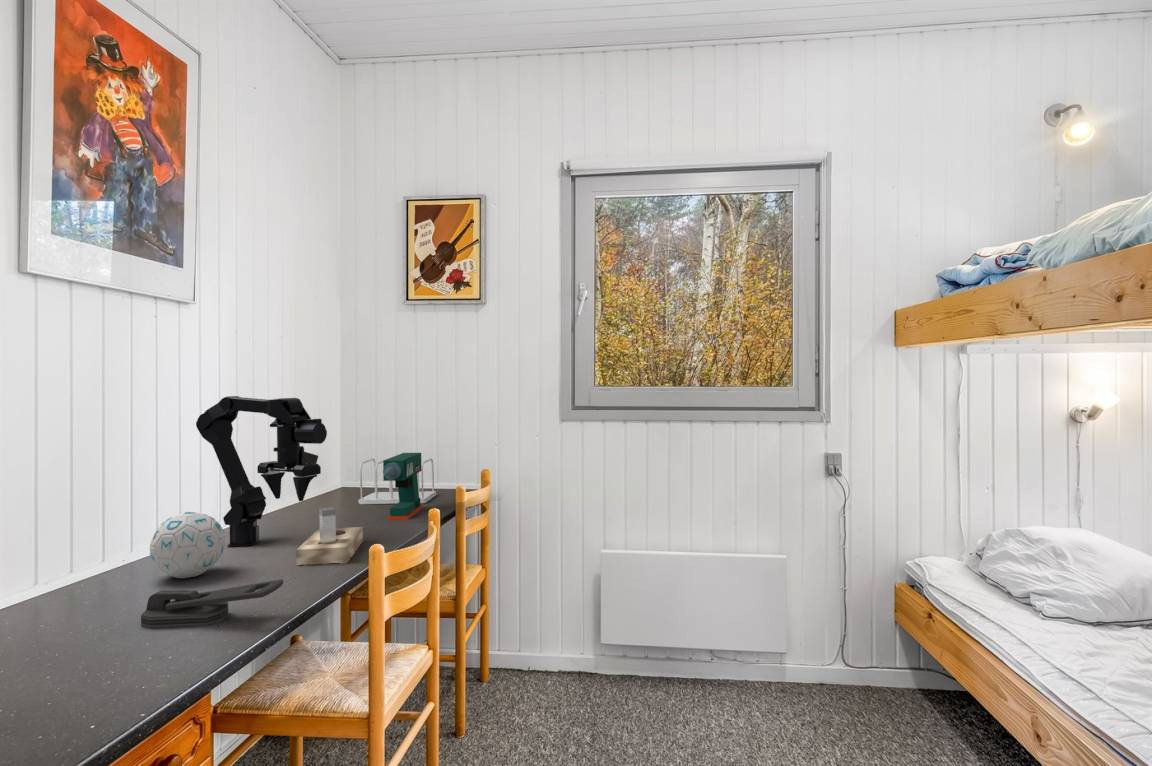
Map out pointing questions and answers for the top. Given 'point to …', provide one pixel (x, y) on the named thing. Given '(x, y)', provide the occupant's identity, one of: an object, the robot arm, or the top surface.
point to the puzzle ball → (187, 544)
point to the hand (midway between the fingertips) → (289, 499)
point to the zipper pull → (198, 605)
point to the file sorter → (392, 496)
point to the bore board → (330, 547)
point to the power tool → (404, 484)
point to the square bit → (327, 525)
